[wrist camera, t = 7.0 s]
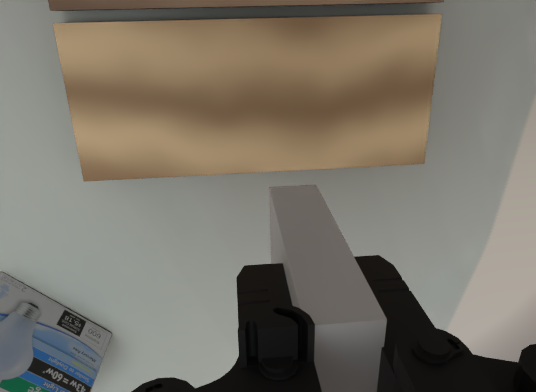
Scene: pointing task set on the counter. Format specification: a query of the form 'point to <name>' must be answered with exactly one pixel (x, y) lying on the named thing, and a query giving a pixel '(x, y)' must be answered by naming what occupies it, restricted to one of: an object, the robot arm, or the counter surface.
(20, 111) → the counter surface
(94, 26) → the oak plank
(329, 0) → the walnut board
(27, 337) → the light bulb box
